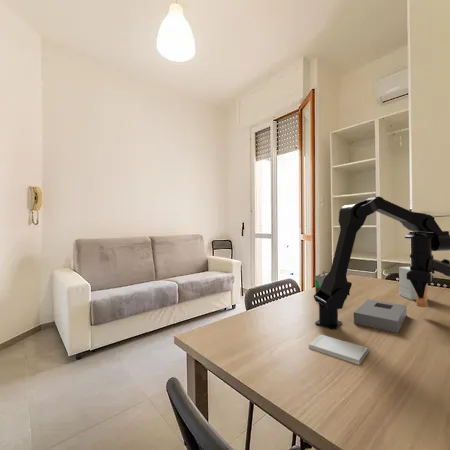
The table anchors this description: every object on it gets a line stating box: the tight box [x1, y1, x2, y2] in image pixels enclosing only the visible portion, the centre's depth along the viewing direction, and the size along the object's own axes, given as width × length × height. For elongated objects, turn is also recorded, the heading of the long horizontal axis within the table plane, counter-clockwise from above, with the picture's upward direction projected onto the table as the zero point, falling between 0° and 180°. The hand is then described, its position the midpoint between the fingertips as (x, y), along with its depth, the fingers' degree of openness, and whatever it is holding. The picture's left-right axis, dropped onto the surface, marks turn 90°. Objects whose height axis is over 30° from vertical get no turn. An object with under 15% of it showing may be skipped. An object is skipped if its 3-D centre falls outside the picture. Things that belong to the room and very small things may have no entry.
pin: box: [415, 284, 428, 308], centre depth 88 cm, size 3×3×9 cm
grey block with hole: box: [353, 299, 408, 334], centre depth 87 cm, size 18×12×4 cm, turn 138°
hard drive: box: [308, 334, 370, 366], centre depth 67 cm, size 2×8×12 cm
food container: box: [314, 270, 330, 294], centre depth 114 cm, size 12×6×10 cm, turn 143°
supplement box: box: [398, 266, 429, 301], centre depth 110 cm, size 7×7×13 cm
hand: (421, 297), depth 88 cm, fingers closed on pin, 3 cm apart
